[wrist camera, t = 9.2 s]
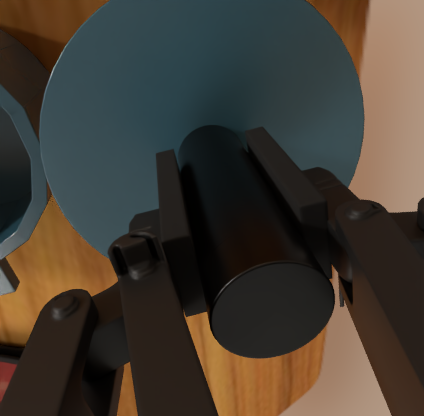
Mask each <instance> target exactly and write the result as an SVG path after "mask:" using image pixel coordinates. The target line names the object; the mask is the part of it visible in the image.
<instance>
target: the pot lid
mask: <svg viewBox="0 0 424 416" xmlns="http://www.w3.org/2000/svg"><path fill="white" fill-rule="evenodd" d="M262 126H263V127H264V128H265V130H266V131H267V132H268V133H269V134H270V135H271V136H272V138H273V139H274V140H275V141H276V142H277V143H278V144H279V146H280V147H281V148H282V149H283V150H284V151H285V152H286V154H287V155H288V156H289V157H290V158H291V159H292V160H293V162H294V163H295V164H296V165H297V166H298V167H299V168H300V170H301V171H303V170H307V169H310V168H314V167H321V168H324V169H326V170H329V171H331V172H332V173H333V174H334V175H335V176H336V177H337V179H339V180H340V181H341V182H342V183H343V184H344V185H345V186H346V187H347V188H348V187H349V185H350V182H351V180H352V178H353V176H354V173H355V170H356V167H357V164H358V161H359V157H360V153H361V147H362V142H363V134H364V107H363V96H362V91H361V87H360V82H359V77H358V74H357V72H356V69H355V66H354V64H353V61H352V58H351V56H350V54H349V52H348V51H347V49H346V47H345V45H344V43H343V41H342V39H341V38H340V37H339V35H338V34H337V33H336V31H335V30H334V29H333V27H332V26H331V25H330V23H329V22H328V21H327V20H326V19H325V18H324V17H323V16H322V15H321V14H320V13H319V12H318V11H317V10H316V9H315V8H314V7H313V6H312V5H311V4H310V3H308V2H307V1H305V0H110V1H108V2H107V3H106V4H104V5H103V6H101V7H100V8H99V9H98V10H97V11H96V12H95V13H93V14H92V15H91V16H90V17H89V18H88V19H87V20H86V21H85V22H84V23H83V24H82V25H81V26H80V27H79V29H78V30H77V31H76V33H75V34H74V35H73V37H72V38H71V39H70V40H69V42H68V43H67V44H66V46H65V47H64V49H63V51H62V53H61V55H60V57H59V58H58V60H57V62H56V64H55V66H54V67H53V70H52V73H51V76H50V78H49V81H48V84H47V86H46V89H45V93H44V98H43V103H42V108H41V113H40V130H39V138H40V150H41V158H42V163H43V167H44V171H45V175H46V179H47V181H48V184H49V186H50V189H51V191H52V194H53V196H54V198H55V200H56V202H57V204H58V205H59V207H60V209H61V211H62V213H63V214H64V216H65V217H66V218H67V220H68V221H69V222H70V224H71V225H72V226H73V228H74V229H75V230H76V231H77V232H78V233H79V234H80V235H81V236H82V237H83V238H84V239H85V240H86V241H87V242H88V243H89V244H90V245H91V246H92V247H94V248H95V249H96V250H97V251H99V252H100V253H101V254H102V255H104V256H106V257H107V258H109V256H108V254H107V253H108V248H109V247H110V245H111V244H112V243H113V242H114V241H115V240H116V239H118V238H119V237H120V236H123V235H125V234H127V233H129V223H130V222H131V220H132V219H133V217H134V216H135V214H139V213H143V212H147V211H151V210H155V209H159V200H158V184H157V168H156V153H159V152H163V151H166V150H170V149H174V152H175V155H176V159H177V163H178V166H179V170H180V174H181V179H182V184H183V189H184V194H185V199H186V204H187V210H188V215H189V220H190V225H191V230H192V235H193V240H194V246H195V251H196V256H197V261H198V266H199V272H200V278H201V283H202V288H203V293H204V298H205V303H206V308H207V314H208V319H209V324H210V329H211V331H212V334H213V336H214V337H215V339H216V340H217V341H218V343H219V344H220V345H221V346H222V347H224V348H225V349H226V350H228V351H230V352H231V353H234V354H236V355H239V356H243V357H248V358H271V357H276V356H281V355H284V354H287V353H290V352H292V351H295V350H297V349H299V348H301V347H302V346H304V345H306V344H307V343H309V342H310V341H311V340H312V339H314V338H315V337H316V336H317V335H318V334H319V333H320V332H321V331H322V330H323V329H324V327H325V326H326V324H327V323H328V321H329V319H330V317H331V315H332V313H333V309H334V304H335V294H334V289H333V286H332V283H331V282H330V280H329V278H328V277H327V275H326V273H325V272H324V270H323V269H322V267H321V266H320V264H319V263H318V261H317V259H316V258H315V256H314V255H313V253H312V252H311V250H310V249H309V247H308V245H307V244H306V242H305V241H304V239H303V238H302V236H301V235H300V233H299V231H298V230H297V228H296V227H295V225H294V224H293V222H292V221H291V219H290V217H289V216H288V214H287V213H286V211H285V210H284V208H283V207H282V205H281V203H280V202H279V200H278V199H277V197H276V196H275V194H274V193H273V191H272V189H271V188H270V186H269V185H268V183H267V182H266V180H265V179H264V177H263V175H262V174H261V172H260V171H259V169H258V168H257V166H256V165H255V163H254V161H253V160H252V158H251V157H250V155H249V153H248V147H247V141H246V136H245V131H246V130H250V129H254V128H258V127H262Z"/></svg>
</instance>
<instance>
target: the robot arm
mask: <svg viewBox="0 0 424 416" xmlns="http://www.w3.org/2000/svg"><path fill="white" fill-rule="evenodd" d="M245 136H246V141H247V147H248V153H249V155H250V157H251V158H252V160H253V161H254V163H255V165H256V166H257V168H258V169H259V171H260V172H261V174H262V175H263V177H264V179H265V180H266V182H267V183H268V185H269V186H270V188H271V189H272V191H273V193H274V194H275V196H276V197H277V199H278V200H279V202H280V203H281V205H282V207H283V208H284V210H285V211H286V213H287V214H288V216H289V217H290V219H291V221H292V222H293V224H294V225H295V227H296V228H297V230H298V231H299V233H300V235H301V236H302V238H303V239H304V241H305V242H306V244H307V245H308V247H309V249H310V250H311V252H312V253H313V255H314V256H315V258H316V259H317V261H318V263H319V264H320V266H321V267H322V269H323V270H324V272H325V273H326V275H327V277H328V278H329V279H331V278H332V265H333V266H334V268H335V269H336V271H337V272H338V278H339V297H340V307H343V306H344V300H345V303H346V305H347V308H348V310H349V313H350V315H351V318H352V320H353V322H354V325H355V327H356V330H357V332H358V334H359V337H360V339H361V342H362V344H363V347H364V349H365V352H366V354H367V356H368V359H369V361H370V364H371V366H372V369H373V371H374V374H375V376H376V378H377V381H378V383H379V386H380V388H381V391H382V393H383V396H384V398H385V400H386V403H387V405H388V408H389V410H390V413H391V415H392V416H424V198H422V199H421V200H420V201H419V203H418V211H417V212H400V213H388V212H387V210H386V209H385V208H384V207H383V206H382V205H381V204H379V203H376V202H374V201H370V200H360V199H358V197H356V196H355V195H354V194H353V193H352V192H351V191H350V190H349V189H348V188H347V187H346V186H345V185H344V184H343V183H342V182H341V181H340V180H339V179H337V177H336V176H335V175H334V174H333V173H332V172H331V171H329V170H326V169H324V168H321V167H314V168H310V169H307V170H303V171H301V170H300V168H299V167H298V166H297V165H296V164H295V163H294V162H293V160H292V159H291V158H290V157H289V156H288V155H287V154H286V152H285V151H284V150H283V149H282V148H281V147H280V146H279V144H278V143H277V142H276V141H275V140H274V139H273V138H272V136H271V135H270V134H269V133H268V132H267V131H266V130H265V128H264V127H263V126H262V127H258V128H254V129H250V130H246V131H245ZM156 168H157V184H158V200H159V209H155V210H151V211H147V212H143V213H139V214H135V216H134V217H133V219H132V220H131V222H130V223H129V233H127V234H125V235H123V236H120V237H119V238H118V239H116V240H115V241H114V242H113V243H112V244H111V245H110V247H109V248H108V253H107V254H108V256H109V259H110V261H111V263H112V266H113V268H114V270H115V273H116V275H117V277H118V282H117V283H115V284H114V285H113V286H112V287H110V288H108V289H106V290H105V291H103V292H101V293H99V294H97V295H95V296H92V297H91V295H90V294H89V293H88V291H86V290H83V289H72V290H69V291H66V292H62V293H61V294H59V295H57V296H55V297H54V298H52V299H51V300H50V301H49V302H48V303H47V304H46V305H45V306H44V307H43V309H42V310H41V312H40V314H39V316H38V318H37V321H36V323H35V325H34V328H33V330H32V332H31V334H30V337H29V339H28V341H27V344H26V346H25V348H24V350H23V353H22V355H21V357H20V360H19V362H18V364H17V366H16V369H15V371H14V373H13V375H12V378H11V380H10V382H9V385H8V387H7V389H6V391H5V394H4V396H3V398H2V401H1V403H0V416H117V410H118V404H119V397H120V391H121V385H122V378H123V372H124V364H126V363H128V362H130V365H131V371H132V378H133V385H134V392H135V399H136V406H137V412H138V416H218V413H217V410H216V407H215V404H214V401H213V398H212V395H211V392H210V389H209V387H208V384H207V381H206V378H205V375H204V372H203V369H202V366H201V363H200V360H199V358H198V355H197V352H196V349H195V346H194V343H193V340H192V337H191V334H190V331H189V329H188V326H187V323H186V320H185V317H184V312H185V315H186V317H188V316H192V315H196V314H199V313H203V312H207V308H206V303H205V298H204V293H203V288H202V283H201V278H200V272H199V266H198V261H197V256H196V251H195V246H194V240H193V235H192V230H191V225H190V220H189V215H188V210H187V204H186V199H185V194H184V189H183V184H182V179H181V174H180V170H179V166H178V163H177V159H176V155H175V152H174V149H170V150H166V151H163V152H159V153H156ZM331 264H332V265H331ZM183 309H184V311H183Z"/></svg>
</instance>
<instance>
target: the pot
mask: <svg viewBox="0 0 424 416" xmlns="http://www.w3.org/2000/svg"><path fill="white" fill-rule="evenodd" d="M50 76H51V75H50V74H49V72H48V71H47V70H46V68H45V67H44V66H43V65H42V63H41V62H40V61H39V60H38V59H37V58H36V57H35V56H34V55H33V54H32V53H31V52H30V51H29V50H28V49H27V48H26V47H25V46H24V45H22V44H21V43H20V42H19V41H17V40H16V39H15V38H14V37H12V36H11V35H9V34H7V33H6V32H4V31H3V30H1V29H0V295H4V294H8V293H12V292H15V291H16V290H17V287H18V285H19V283H20V281H19V280H18V278H17V276H16V275H15V273H14V271H13V270H12V268H11V266H10V265H9V263H8V261H7V260H6V258H5V257H6V256H7V255H9V254H10V253H11V252H13V251H14V250H15V249H17V248H18V247H20V246H21V245H22V244H24V243H25V242H26V241H28V240H29V238H30V236H31V234H32V232H33V230H34V229H35V227H36V225H37V223H38V221H39V219H40V217H41V215H42V213H43V211H44V209H45V207H46V205H47V203H48V201H49V199H50V197H51V195H52V191H51V189H50V186H49V184H48V181H47V179H46V175H45V171H44V167H43V163H42V158H41V150H40V138H39V130H40V113H41V108H42V103H43V98H44V93H45V89H46V86H47V84H48V81H49V78H50Z"/></svg>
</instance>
